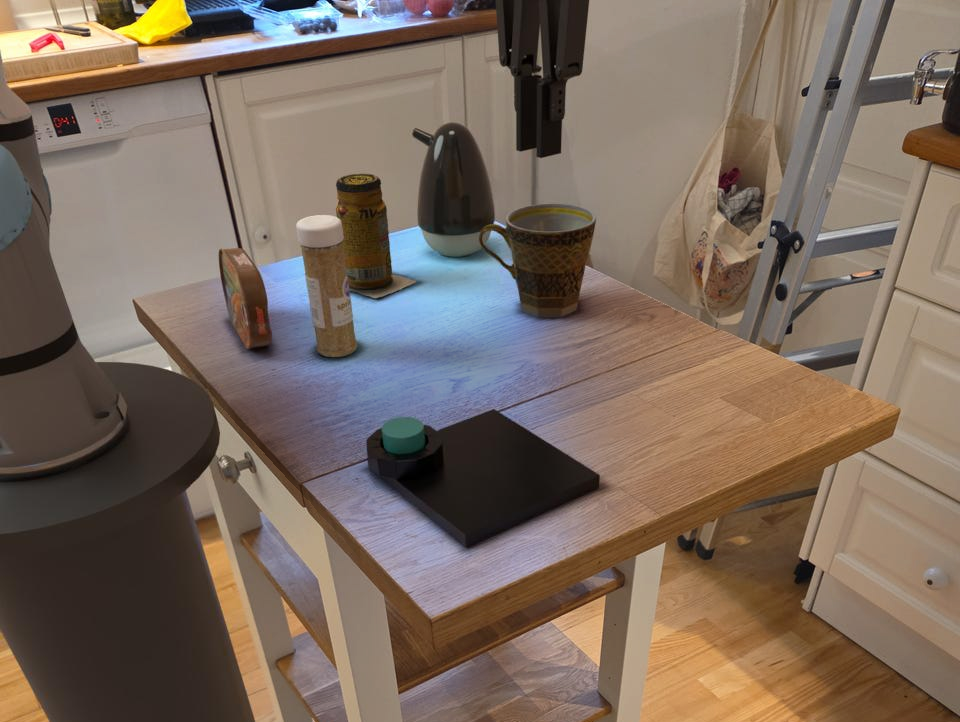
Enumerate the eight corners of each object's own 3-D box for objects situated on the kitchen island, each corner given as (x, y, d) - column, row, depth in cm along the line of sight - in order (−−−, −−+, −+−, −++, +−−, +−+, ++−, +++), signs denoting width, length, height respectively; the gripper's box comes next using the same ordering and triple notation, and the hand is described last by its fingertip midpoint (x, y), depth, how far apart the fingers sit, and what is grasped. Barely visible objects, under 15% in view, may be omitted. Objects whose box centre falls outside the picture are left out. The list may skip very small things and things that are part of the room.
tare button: (376, 443, 76) (373, 425, 75) (410, 430, 78) (409, 412, 77) (398, 460, 74) (396, 441, 73) (433, 446, 76) (432, 428, 74)
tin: (226, 312, 105) (209, 239, 99) (251, 307, 106) (236, 234, 100) (253, 362, 95) (236, 283, 89) (281, 356, 96) (266, 278, 90)
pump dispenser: (433, 235, 123) (425, 111, 113) (504, 240, 121) (503, 114, 111) (407, 260, 116) (396, 131, 106) (482, 266, 114) (478, 134, 103)
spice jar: (358, 356, 95) (341, 226, 86) (316, 360, 95) (294, 229, 86) (357, 339, 98) (340, 211, 89) (316, 342, 98) (295, 214, 89)
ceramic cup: (588, 290, 107) (592, 201, 100) (594, 323, 100) (599, 231, 93) (481, 292, 107) (479, 204, 101) (480, 326, 100) (477, 234, 93)
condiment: (371, 268, 115) (359, 167, 106) (417, 283, 110) (409, 178, 102) (329, 285, 111) (314, 181, 103) (375, 301, 106) (363, 194, 98)
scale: (356, 468, 78) (352, 438, 76) (489, 417, 84) (488, 388, 82) (458, 551, 69) (456, 519, 67) (599, 487, 75) (601, 456, 73)
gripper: (637, -152, 73) (616, 160, 89) (520, -149, 83) (520, 131, 99) (568, -148, 70) (559, 174, 86) (455, -146, 80) (466, 143, 96)
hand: (538, 151), depth 92 cm, fingers open, 3 cm apart
